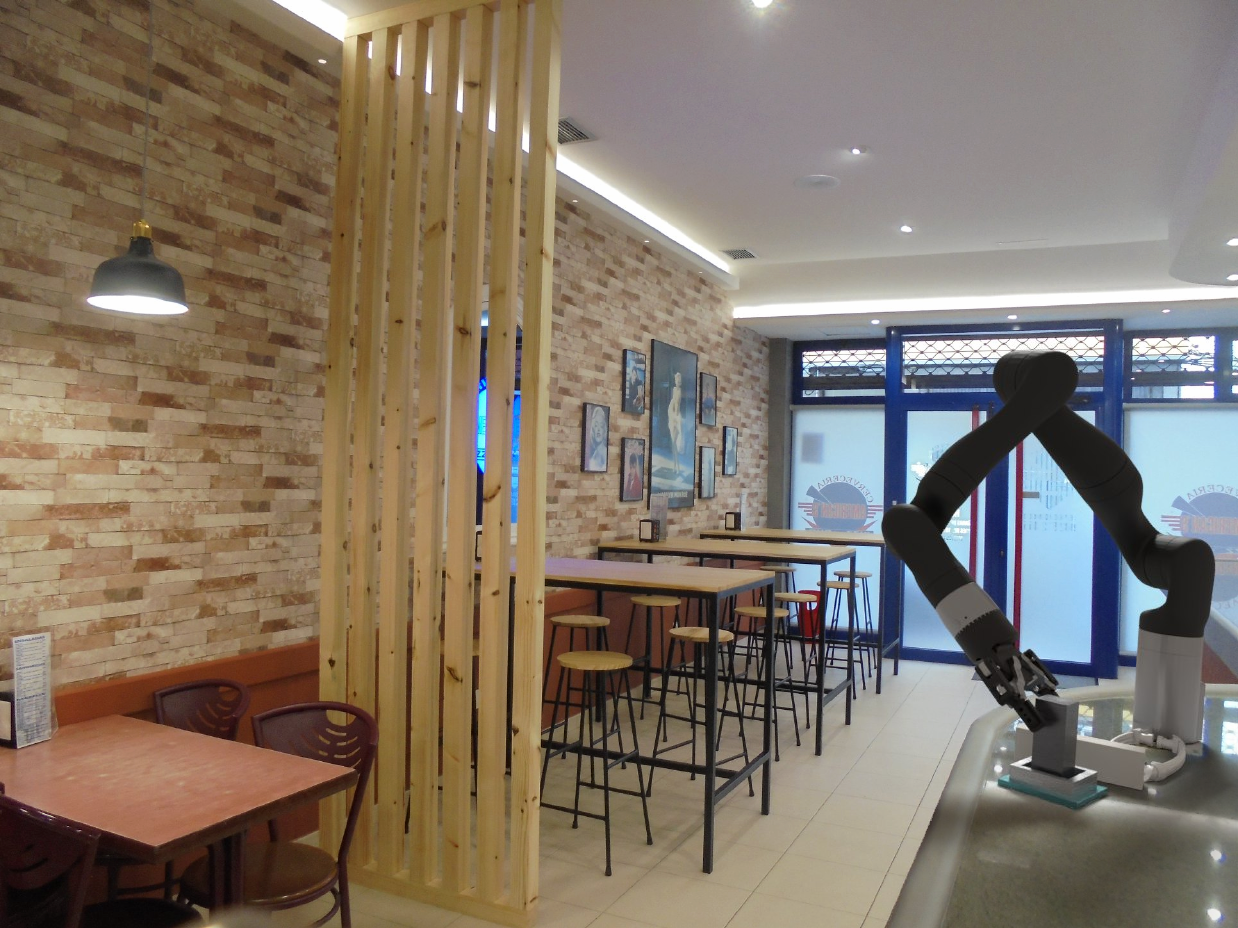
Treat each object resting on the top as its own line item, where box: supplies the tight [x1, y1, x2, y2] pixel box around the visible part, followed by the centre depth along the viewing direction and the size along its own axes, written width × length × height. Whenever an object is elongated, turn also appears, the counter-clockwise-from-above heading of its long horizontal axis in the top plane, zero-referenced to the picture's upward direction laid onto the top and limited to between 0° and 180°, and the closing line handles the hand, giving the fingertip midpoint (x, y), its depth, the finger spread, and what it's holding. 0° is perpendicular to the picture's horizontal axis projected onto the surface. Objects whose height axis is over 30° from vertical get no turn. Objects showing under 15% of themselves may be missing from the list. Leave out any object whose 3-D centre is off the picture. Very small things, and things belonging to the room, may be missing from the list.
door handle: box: [1110, 728, 1187, 783], centre depth 134 cm, size 3×10×25 cm
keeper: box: [997, 756, 1109, 811], centre depth 118 cm, size 10×10×3 cm
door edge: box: [1013, 722, 1147, 791], centre depth 125 cm, size 16×3×5 cm, turn 57°
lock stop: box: [1031, 694, 1080, 779], centre depth 118 cm, size 4×4×11 cm
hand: (1054, 724), depth 118 cm, fingers open, 8 cm apart
